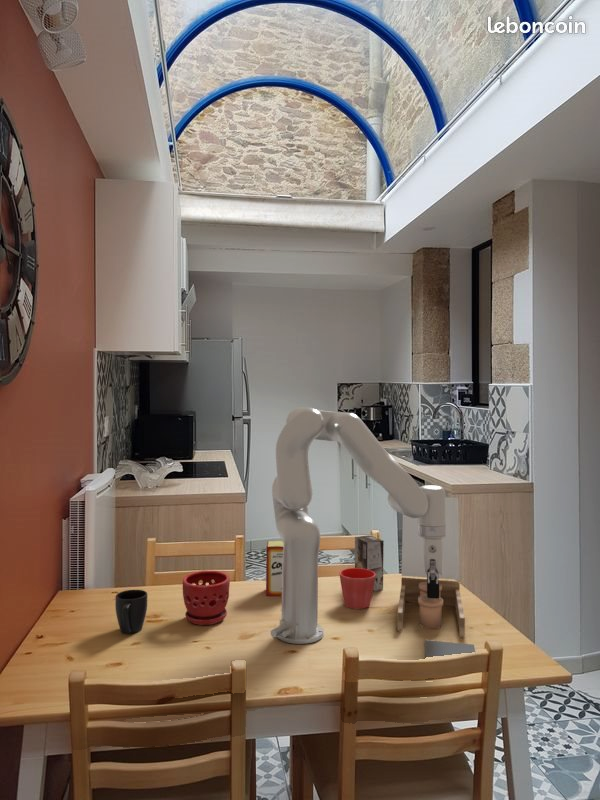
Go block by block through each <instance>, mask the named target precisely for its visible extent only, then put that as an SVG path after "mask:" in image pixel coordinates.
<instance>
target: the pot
mask: <svg viewBox="0 0 600 800" xmlns="http://www.w3.org/2000/svg"><path fill="white" fill-rule="evenodd" d="M419 590H420V596H423V595H427V582H421V583H419ZM441 591H442V585H440V584H439V597H441Z"/></svg>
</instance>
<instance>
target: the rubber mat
mask: <svg viewBox="0 0 600 800" xmlns="http://www.w3.org/2000/svg"><path fill="white" fill-rule="evenodd" d="M424 650H425V652H424V653H425V655H424V656H425V657H433V656H444V655H452V654H461V653H472V652H475V653H476V649H475V644H471V643H461V642H452V641H450V642H449V641H440V640H439V641H438V640H430V639H429V640H428V639H425V649H424ZM425 657H424V658H425Z"/></svg>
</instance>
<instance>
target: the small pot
mask: <svg viewBox="0 0 600 800" xmlns="http://www.w3.org/2000/svg"><path fill="white" fill-rule="evenodd" d="M417 603H418V605H419V618H418V619H419V626H420V627H422V626H423V628H425V629H431V630H432V629H440V628H441V627H442V625H443V624H442V622H443V621H442V617H443V616H442V613H443V612H442V610H443V608H442V607H444V605H443V599H442V598H440V597H439V598H438V599H437V598H428V597H427V595H423V596H420V597H418V602H417Z"/></svg>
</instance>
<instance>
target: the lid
mask: <svg viewBox="0 0 600 800" xmlns="http://www.w3.org/2000/svg"><path fill="white" fill-rule="evenodd" d="M459 503H460V501H459V497H446V496H445V512H446V537H445V538H442V543H443V574H442V575H441V574H439V573H438V579H439V580H443V579H444V580H453V581H460V530H459V529H460V523H459V522H460V521H459V519H460V518H459V517H460V515H459V512H460V510H459V509H460V507H459V506H460V504H459ZM401 537H402V539H401V543H402V544H401V576H402V577H411V578H415V577H416V578H426V579H427V574H426V573H425V567H424V557H423V538H422V537H420V536H418V518H410V517H408V516H406V515H404V514H402V536H401ZM435 572H436V571H435Z"/></svg>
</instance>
